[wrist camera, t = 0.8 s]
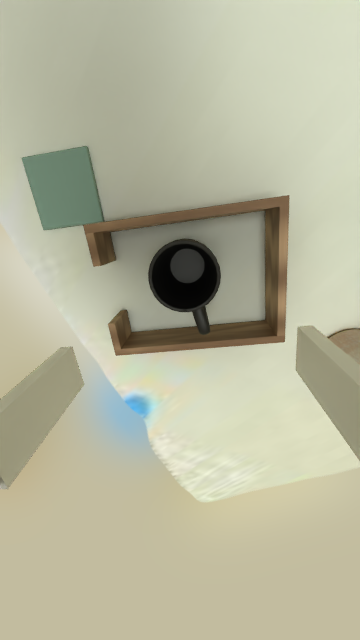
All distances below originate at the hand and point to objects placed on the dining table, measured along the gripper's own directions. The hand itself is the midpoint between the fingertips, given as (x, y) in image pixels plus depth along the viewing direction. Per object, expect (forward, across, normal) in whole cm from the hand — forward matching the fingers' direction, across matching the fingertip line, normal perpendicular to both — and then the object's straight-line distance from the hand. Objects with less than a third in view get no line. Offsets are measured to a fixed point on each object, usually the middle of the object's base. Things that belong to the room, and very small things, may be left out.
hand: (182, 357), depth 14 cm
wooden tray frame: (+24, 0, 0) cm, 24 cm away
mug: (+24, 0, 0) cm, 24 cm away
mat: (+24, -16, +14) cm, 32 cm away
